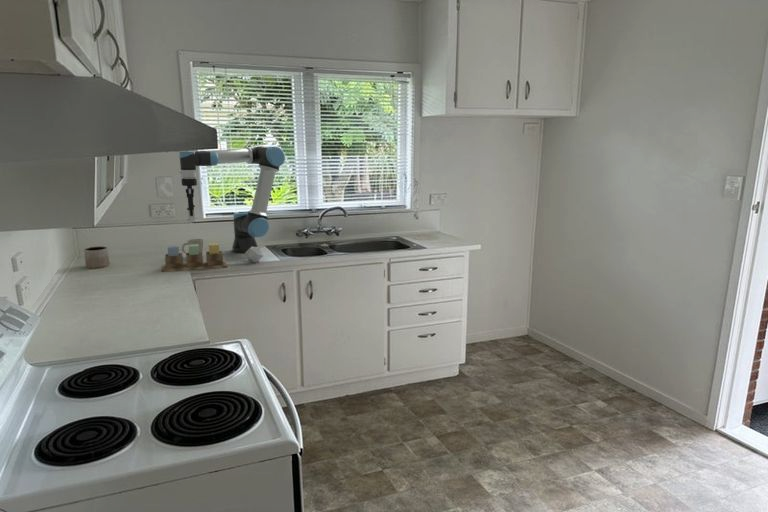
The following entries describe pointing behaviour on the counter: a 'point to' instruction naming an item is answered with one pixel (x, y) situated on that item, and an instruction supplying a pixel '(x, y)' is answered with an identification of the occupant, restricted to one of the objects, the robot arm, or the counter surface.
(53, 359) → the counter surface
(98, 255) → the planter
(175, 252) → the button slate
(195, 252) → the button sage
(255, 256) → the die
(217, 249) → the button ochre
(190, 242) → the mug
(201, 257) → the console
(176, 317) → the counter surface
